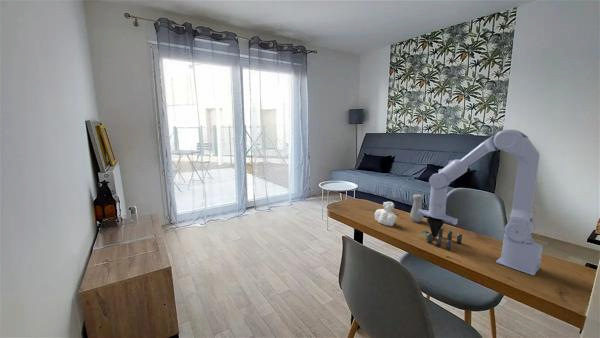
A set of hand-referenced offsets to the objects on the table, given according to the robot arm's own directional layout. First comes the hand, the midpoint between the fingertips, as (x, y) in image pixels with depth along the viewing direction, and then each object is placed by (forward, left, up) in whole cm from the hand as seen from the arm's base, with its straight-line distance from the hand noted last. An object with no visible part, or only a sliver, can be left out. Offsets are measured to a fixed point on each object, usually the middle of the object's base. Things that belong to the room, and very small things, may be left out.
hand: (434, 236), depth 100 cm
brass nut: (+3, 0, -2) cm, 4 cm away
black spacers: (-4, 0, -1) cm, 4 cm away
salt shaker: (+15, -14, -2) cm, 21 cm away
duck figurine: (+22, 0, -2) cm, 22 cm away
